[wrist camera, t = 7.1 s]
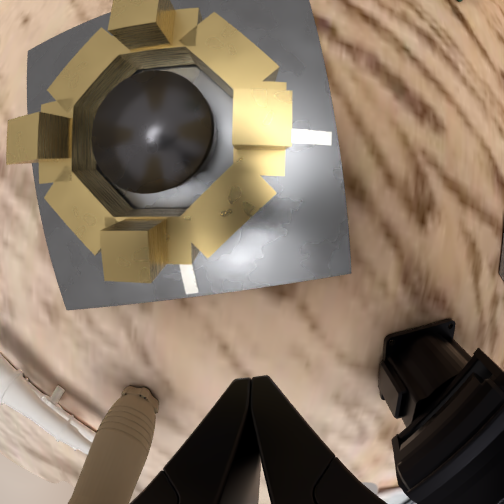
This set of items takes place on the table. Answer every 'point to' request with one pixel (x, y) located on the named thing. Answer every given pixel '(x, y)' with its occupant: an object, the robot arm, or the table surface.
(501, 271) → the tankard
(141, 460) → the handle
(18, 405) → the white tapered multi-tube piece
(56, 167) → the octagonal socket base
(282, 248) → the cap plate
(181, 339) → the table surface
